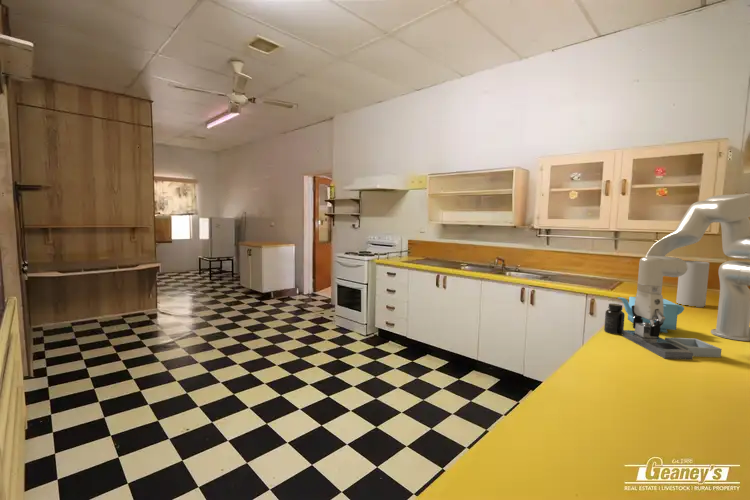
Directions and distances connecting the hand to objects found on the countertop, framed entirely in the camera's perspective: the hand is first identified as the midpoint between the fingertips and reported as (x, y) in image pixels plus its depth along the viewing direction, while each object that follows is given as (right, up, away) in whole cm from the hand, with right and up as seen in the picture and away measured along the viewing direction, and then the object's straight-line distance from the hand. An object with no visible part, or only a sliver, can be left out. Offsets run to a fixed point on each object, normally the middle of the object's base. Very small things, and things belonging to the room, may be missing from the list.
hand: (645, 332), depth 138 cm
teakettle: (+16, -3, +19) cm, 25 cm away
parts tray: (+10, -5, -8) cm, 14 cm away
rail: (0, -4, -5) cm, 6 cm away
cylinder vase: (+75, 0, +65) cm, 99 cm away
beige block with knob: (0, -4, 0) cm, 4 cm away
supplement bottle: (-4, -3, +13) cm, 14 cm away
